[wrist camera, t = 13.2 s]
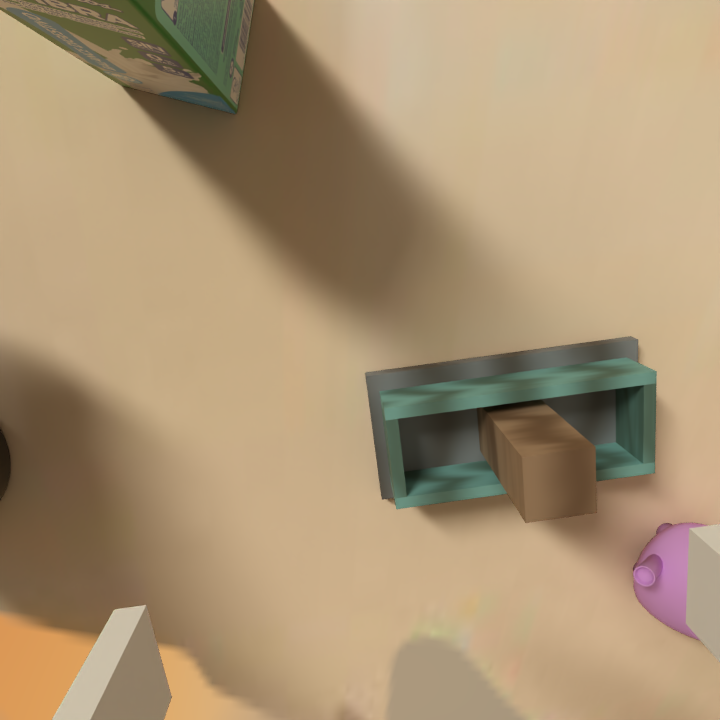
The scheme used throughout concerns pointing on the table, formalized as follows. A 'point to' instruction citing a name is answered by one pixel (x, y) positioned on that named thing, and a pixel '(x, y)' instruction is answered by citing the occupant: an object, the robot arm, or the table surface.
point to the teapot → (665, 576)
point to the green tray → (503, 386)
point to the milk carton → (152, 42)
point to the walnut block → (539, 460)
